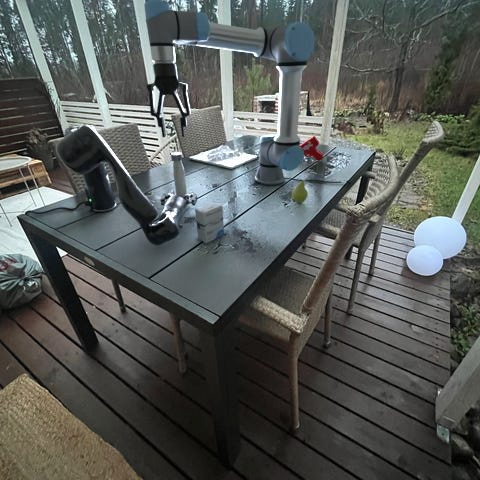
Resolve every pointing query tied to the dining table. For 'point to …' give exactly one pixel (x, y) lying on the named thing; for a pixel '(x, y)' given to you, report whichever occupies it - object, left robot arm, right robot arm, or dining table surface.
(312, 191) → the dining table surface
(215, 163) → the relief map
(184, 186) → the bottle
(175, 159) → the cap
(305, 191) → the fruit
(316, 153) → the toy gun
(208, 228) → the ink box
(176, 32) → the right robot arm
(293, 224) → the dining table surface
